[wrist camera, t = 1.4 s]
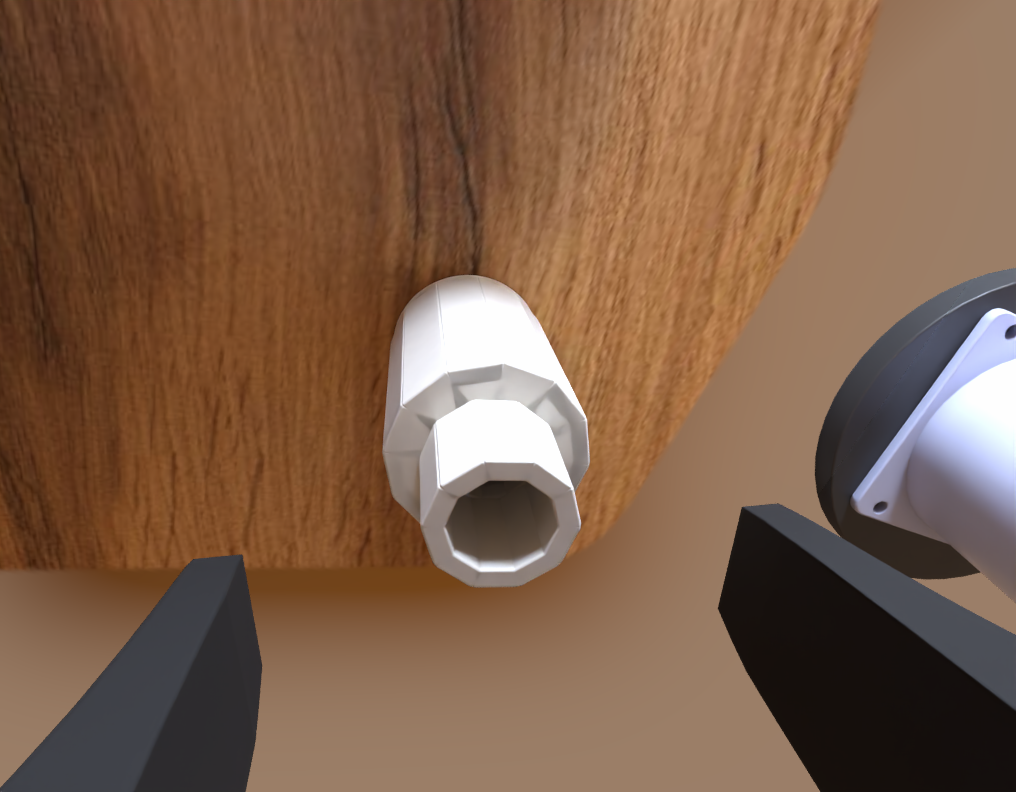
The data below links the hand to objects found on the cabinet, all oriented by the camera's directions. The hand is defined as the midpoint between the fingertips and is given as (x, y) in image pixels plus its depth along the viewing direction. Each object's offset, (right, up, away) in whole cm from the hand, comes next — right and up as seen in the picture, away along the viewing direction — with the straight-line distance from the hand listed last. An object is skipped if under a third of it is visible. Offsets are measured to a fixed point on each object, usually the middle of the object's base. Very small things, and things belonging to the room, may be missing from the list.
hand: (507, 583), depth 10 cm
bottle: (-1, +4, +9) cm, 10 cm away
